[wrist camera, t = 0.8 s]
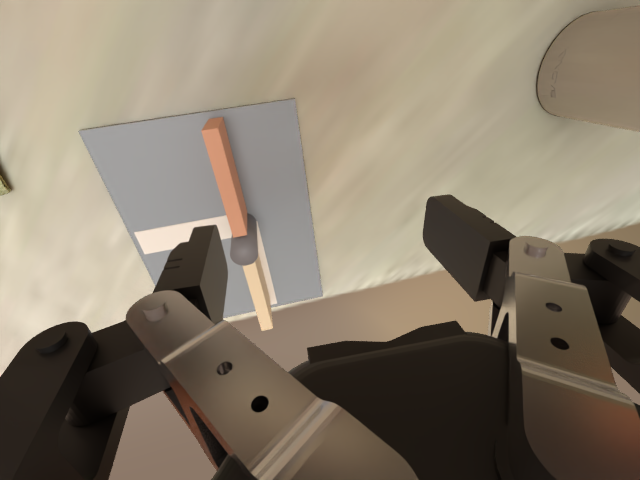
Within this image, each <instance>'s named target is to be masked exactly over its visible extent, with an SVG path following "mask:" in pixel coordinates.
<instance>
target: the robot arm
mask: <svg viewBox="0 0 640 480" xmlns="http://www.w3.org/2000/svg"><path fill="white" fill-rule="evenodd" d="M537 89H538V97H539V100H540V103H541V105H542V106H543V108H544V109H545V110H546V111H547V112H548V113H550V114H553V115H555V116H560V117H566V118H571V119H576V120H581V121H586V122H591V123H596V124H601V125H606V126H612V127H617V128H622V129H627V130H632V131H638V132H640V6H634V7H626V8H619V9H612V10H604V11H597V12H591V13H588V14H586V15H583V16H581V17H579V18H578V19H576V20H575V21H573V22H572V23H571V24H569V25H568V26H567V27H566V28H565V29H564V30H563V31H562V32H561V33H560V34H559V35H558V37H557V38H556V39H555V40H554V42H553V43H552V45H551V47H550V48H549V50H548V51H547V53H546V56H545V58H544V60H543V62H542V65H541V68H540V72H539V76H538V83H537ZM423 240H424V244H425V246H426V247H427V249H428V250H429V251H430V252H431V253H432V254H433V255H434V257H435V258H436V259H437V260H438V261H439V262H440V263H441V264H442V265H443V267H444V268H445V269H446V270H447V271H448V272H449V273H450V274H451V275H452V277H453V278H454V279H455V280H456V281H457V282H458V283H459V284H460V286H461V287H462V288H463V289H464V290H465V291H466V292H467V293H468V294H469V296H470V297H471V298H472V299H473V300H474V301H480V300H486V299H491V300H492V303H491V307H490V314H489V326H488V335H484V334H479V333H472V332H464V330H463V329H462V328H461V326H460V325H459V324H458V322H457V321H451V322H446V323H440V324H435V325H430V326H424V327H421V328H418V329H416V330H413V331H411V332H409V333H407V334H405V335H402V336H400V337H398V338H396V339H393V340H391V341H388V342H367V341H342V342H337V343H331V344H326V345H320V346H315V347H309V348H307V351H308V359H309V360H308V361H306V362H304V363H302V364H300V365H298V366H297V367H295V368H293V369H292V370H290V371H289V372H287V371H285V370H284V369H283V368H282V367H281V366H280V365H279V364H277V363H276V362H275V361H274V360H273V359H271V358H270V357H269V356H268V355H266V354H265V353H264V352H263V351H262V350H261V349H260V348H258V347H257V346H256V345H255V344H254V343H252V342H251V341H250V340H249V339H248V338H246V337H245V336H244V335H243V334H242V333H241V332H239V331H238V330H237V329H236V328H234V327H233V326H232V325H231V324H230V323H228V322H227V321H225V320H223V313H224V305H225V297H226V289H227V281H228V268H227V262H226V258H225V254H224V250H223V246H222V242H221V238H220V234H219V230H218V228H217V225H207V226H200V227H194V228H193V231H192V233H191V236H190V239H189V242H182V243H180V244H178V245H177V246H176V247H175V248H174V249H173V250H172V251H171V252H170V254H169V257H168V259H167V262H166V264H165V266H164V270H163V271H162V273H161V275H160V277H159V280H158V282H157V284H156V287H155V289H154V291H153V293H152V294H149V295H147V296H145V297H143V298H142V299H140V300H139V301H137V302H136V303H135V304H133V305H132V307H131V308H130V309H129V310H128V312H127V314H126V320H125V321H123V322H120V323H118V324H115V325H112V326H110V327H107V328H104V329H101V330H99V331H96V332H93V333H91V331H90V330H89V328H88V327H87V325H86V324H84V323H82V322H67V323H63V324H59V325H56V326H54V327H51V328H49V329H47V330H45V331H43V332H41V333H40V334H38V335H36V336H35V337H33V338H32V339H31V340H30V341H28V342H27V343H26V344H25V345H24V346H23V347H22V348H21V349H20V351H19V352H18V353H17V355H16V356H15V358H14V359H13V360H12V362H11V363H10V364H9V366H8V367H7V369H6V370H5V371H4V373H3V374H2V375H1V377H0V480H108V479H109V475H110V472H111V469H112V466H113V462H114V459H115V455H116V452H117V448H118V445H119V442H120V438H121V435H122V431H123V428H124V425H125V421H126V418H127V415H128V411H129V407H130V406H131V405H133V404H135V403H137V402H139V401H141V400H144V399H146V398H148V397H150V396H152V395H154V394H156V393H159V392H161V391H163V393H164V394H165V395H166V397H167V398H168V400H169V401H170V402H171V404H172V405H173V407H174V408H175V409H176V411H177V412H178V414H179V415H180V416H181V418H182V419H183V421H184V422H185V423H186V425H187V426H188V428H189V429H190V430H191V432H192V433H193V435H194V436H195V438H196V439H197V441H198V442H199V444H200V446H201V448H202V449H203V451H204V453H205V454H206V456H207V457H208V459H209V460H210V462H211V463H212V465H213V466H214V468H215V469H216V471H217V472H216V474H215V475H214V477H213V478H212V479H211V480H640V405H638V404H635V403H633V402H632V400H631V399H630V398H629V397H628V396H627V395H625V394H623V393H621V392H620V391H619V390H618V388H617V385H616V382H615V380H614V376H613V373H612V369H611V367H612V368H613V369H614V370H615V371H616V372H617V373H618V374H619V375H620V376H621V377H622V378H624V379H625V380H626V381H627V382H628V383H629V384H630V385H631V386H632V387H633V388H634V389H635V390H636V391H637V392H638V393H640V329H639V328H638V327H636V326H635V325H634V324H632V323H631V322H630V321H628V320H627V319H626V318H624V317H623V316H622V315H621V314H622V312H623V310H624V309H625V307H626V305H627V303H628V302H629V300H630V298H631V297H633V298H635V299H636V300H638V301H639V302H640V247H638V246H636V245H633V244H630V243H627V242H624V241H619V240H614V239H596V240H593V241H591V242H590V244H589V247H588V249H587V251H586V253H585V254H576V253H575V254H574V253H564V252H563V250H562V249H561V248H560V247H559V246H558V245H556V244H554V243H553V242H550V241H548V240H545V239H542V238H538V237H532V236H520V237H516V236H514V235H513V234H512V233H510V232H509V231H507V230H506V229H504V228H503V227H501V226H500V225H499V224H497V223H494V221H493V220H491V219H490V218H488V217H486V215H484V214H483V213H481V212H480V211H478V210H477V209H474V208H471V207H469V206H466V205H465V204H463V203H462V202H460V201H459V200H458V199H456V198H455V197H453V196H452V195H450V194H449V195H441V196H433V197H430V198H429V199H428V201H427V204H426V212H425V220H424V228H423Z"/></svg>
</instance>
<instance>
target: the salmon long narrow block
mask: <svg viewBox="0 0 640 480" xmlns="http://www.w3.org/2000/svg"><path fill="white" fill-rule="evenodd" d="M201 132H202V135H203V138H204V142H205V145H206V148H207V152H208V155H209V158H210V162H211V165H212V168H213V172H214V175H215V178H216V182H217V185H218V189H219V192H220V195H221V199H222V202H223V205H224V209H225V212H226V215H227V219H228V222H229V225H230V229H231V232H232V235H233V238H234V237H240V236H245V235H247V208H246V204H245V200H244V197H243V193H242V189H241V185H240V181H239V177H238V173H237V170H236V166H235V162H234V158H233V154H232V150H231V146H230V142H229V139H228V135H227V131H226V127H225V123H224V119H223V117H218V118H211V119H208V121H207V122H206V124H205V125H204V127H203V129H202V130H201Z"/></svg>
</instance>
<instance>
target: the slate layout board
mask: <svg viewBox="0 0 640 480" xmlns="http://www.w3.org/2000/svg"><path fill="white" fill-rule="evenodd" d="M218 117H223V119H224V123H225V127H226V131H227V135H228V139H229V142H230V146H231V150H232V154H233V158H234V162H235V166H236V170H237V173H238V177H239V181H240V185H241V189H242V193H243V197H244V200H245V204H246V208H247V235H245V236H240V237H234V238H233V235H232V232H231V229H230V225H229V222H228V219H227V215H226V212H225V209H224V205H223V202H222V199H221V195H220V192H219V189H218V185H217V182H216V178H215V175H214V172H213V168H212V165H211V162H210V158H209V155H208V152H207V148H206V145H205V142H204V138H203V135H202V132H201V130H202V129H203V127H204V125H205V124H206V122H207V121H208V119H211V118H218ZM78 132H79V134H80V136H81V138H82V140H83V142H84V144H85V146H86V148H87V150H88V152H89V154H90V156H91V158H92V160H93V162H94V164H95V166H96V168H97V170H98V172H99V174H100V176H101V178H102V180H103V182H104V184H105V186H106V188H107V190H108V192H109V194H110V196H111V198H112V200H113V202H114V204H115V206H116V208H117V210H118V212H119V214H120V216H121V218H122V220H123V222H124V224H125V226H126V228H127V230H128V232H129V234H130V236H131V238H132V240H133V242H134V244H135V246H136V248H137V250H138V252H139V254H140V256H141V258H142V260H143V262H144V264H145V266H146V268H147V270H148V272H149V274H150V276H151V278H152V280H153V282H154V284H155V286H156V284H157V282H158V280H159V277H160V275H161V273H162V271H163V270H164V266H165V264H166V262H167V259H168V257H169V254H170V252H171V251H172V250H173V249H174V248H175V247H176V246H177V245H178V244H180V243H182V242H189V239H190V236H191V233H192V231H193V228H194V227H200V226H207V225H217V228H218V230H219V234H220V238H221V242H222V246H223V250H224V254H225V258H226V262H227V268H228V281H227V289H226V297H225V305H224V313H223V318H226V317H230V316H235V315H239V314H244V313H248V312H253V311H256V313H257V316H258V320H259V323H260V326H261V330H262V331H263V330H268V329H272V328H273V325H272V314H271V307H276V306H280V305H285V304H289V303H294V302H298V301H303V300H308V299H312V298H317V297H321V296H323V294H322V287H321V280H320V273H319V266H318V259H317V252H316V244H315V237H314V230H313V223H312V216H311V209H310V202H309V195H308V187H307V180H306V173H305V166H304V159H303V152H302V145H301V138H300V131H299V123H298V116H297V109H296V102H295V98H293V99H287V100H280V101H273V102H266V103H260V104H253V105H246V106H239V107H232V108H226V109H219V110H212V111H205V112H199V113H192V114H185V115H178V116H171V117H165V118H158V119H151V120H144V121H138V122H131V123H124V124H117V125H110V126H104V127H97V128H90V129H83V130H79V131H78Z"/></svg>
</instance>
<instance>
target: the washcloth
mask: <svg viewBox="0 0 640 480" xmlns="http://www.w3.org/2000/svg"><path fill="white" fill-rule="evenodd" d="M10 191H11V189H10V188H9V187H8V186H7V185H6V183H5V181H4V180H3V178H2V177H1V175H0V195H4V194H7V193H9V192H10Z"/></svg>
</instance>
